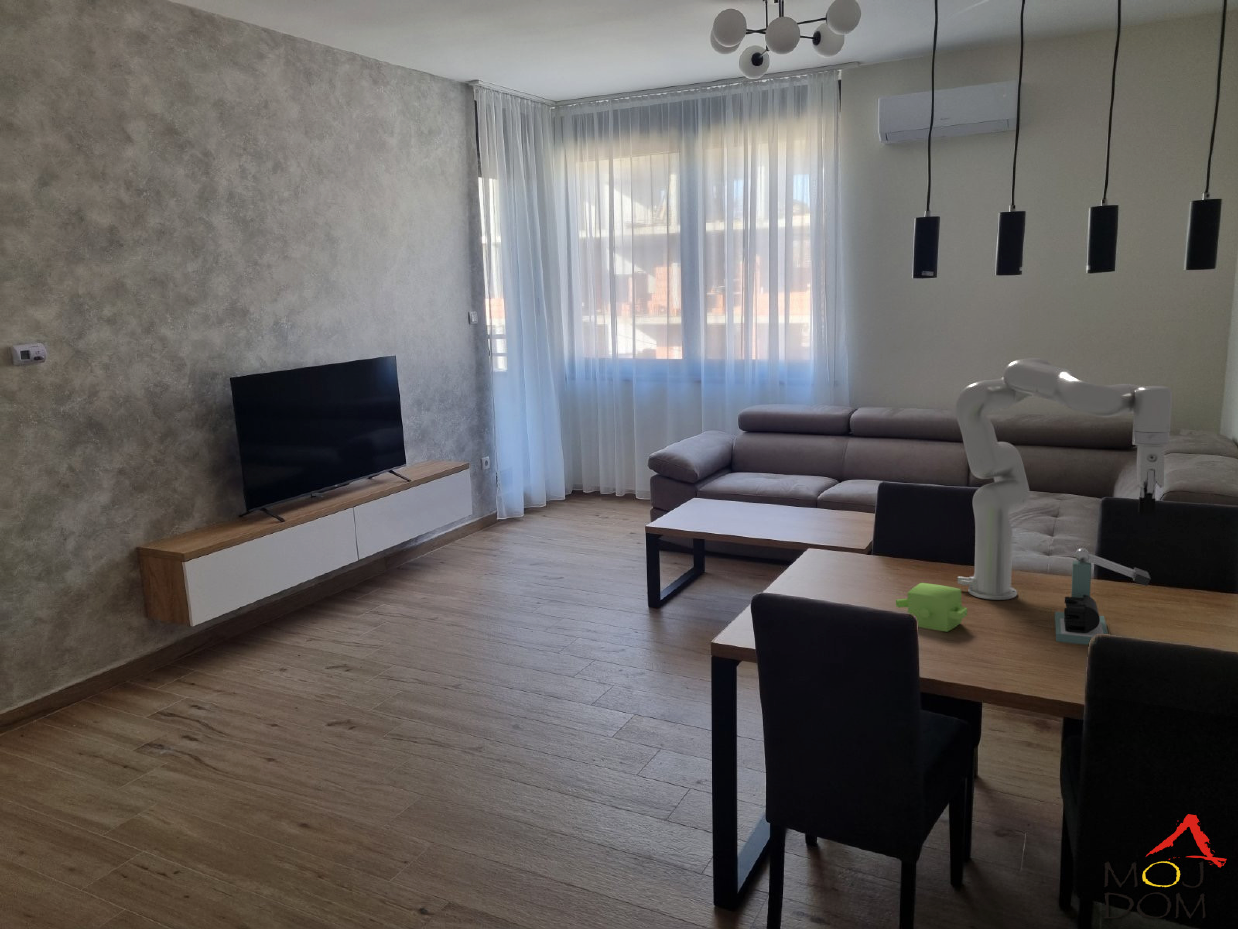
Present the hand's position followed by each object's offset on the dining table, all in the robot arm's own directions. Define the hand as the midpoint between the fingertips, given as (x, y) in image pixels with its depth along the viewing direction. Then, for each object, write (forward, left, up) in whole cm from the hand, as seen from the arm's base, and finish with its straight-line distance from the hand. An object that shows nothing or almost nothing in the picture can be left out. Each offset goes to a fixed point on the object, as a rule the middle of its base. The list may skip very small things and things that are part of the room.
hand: (1146, 513), depth 211 cm
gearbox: (-48, -12, -29) cm, 57 cm away
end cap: (-13, -9, -27) cm, 31 cm away
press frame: (-13, -6, -29) cm, 33 cm away
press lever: (-7, 0, -15) cm, 17 cm away
